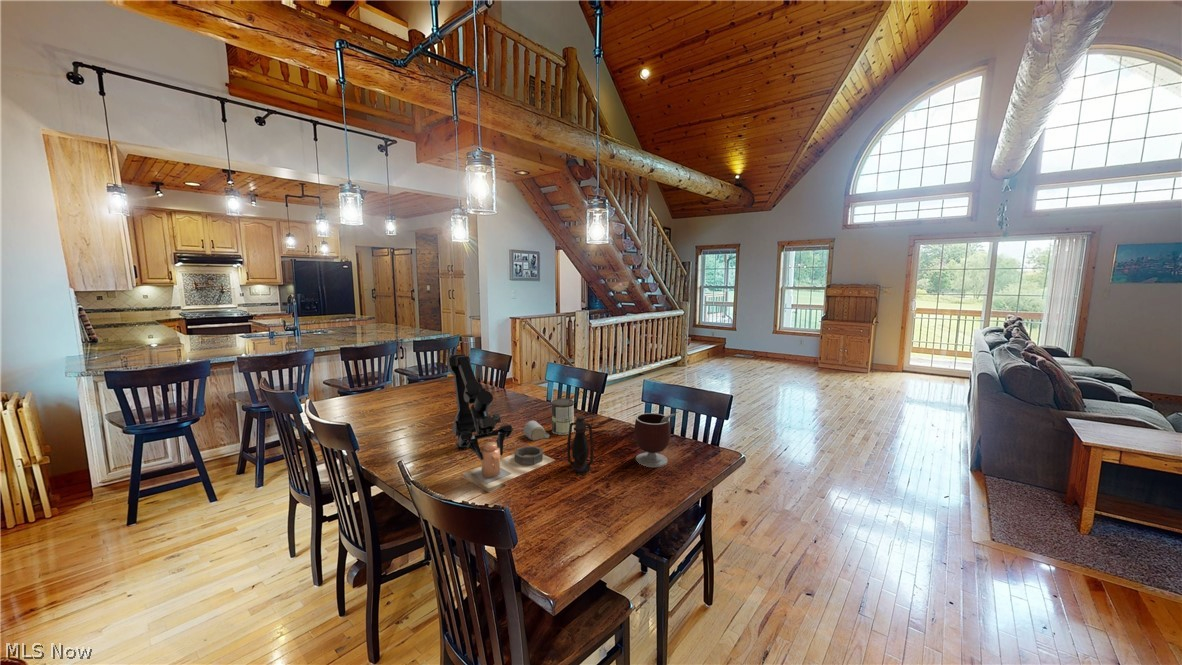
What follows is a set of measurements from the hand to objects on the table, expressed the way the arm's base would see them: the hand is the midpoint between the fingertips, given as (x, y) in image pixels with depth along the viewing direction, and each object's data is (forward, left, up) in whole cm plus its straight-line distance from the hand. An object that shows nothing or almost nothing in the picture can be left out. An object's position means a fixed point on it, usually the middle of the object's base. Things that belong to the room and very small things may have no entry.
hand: (492, 457), depth 149 cm
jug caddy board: (-4, +8, -8) cm, 12 cm away
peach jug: (0, 0, -7) cm, 7 cm away
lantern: (+7, +31, -9) cm, 33 cm away
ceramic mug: (-28, +27, -9) cm, 40 cm away
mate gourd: (+13, +60, -9) cm, 62 cm away
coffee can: (-32, +41, -9) cm, 53 cm away
